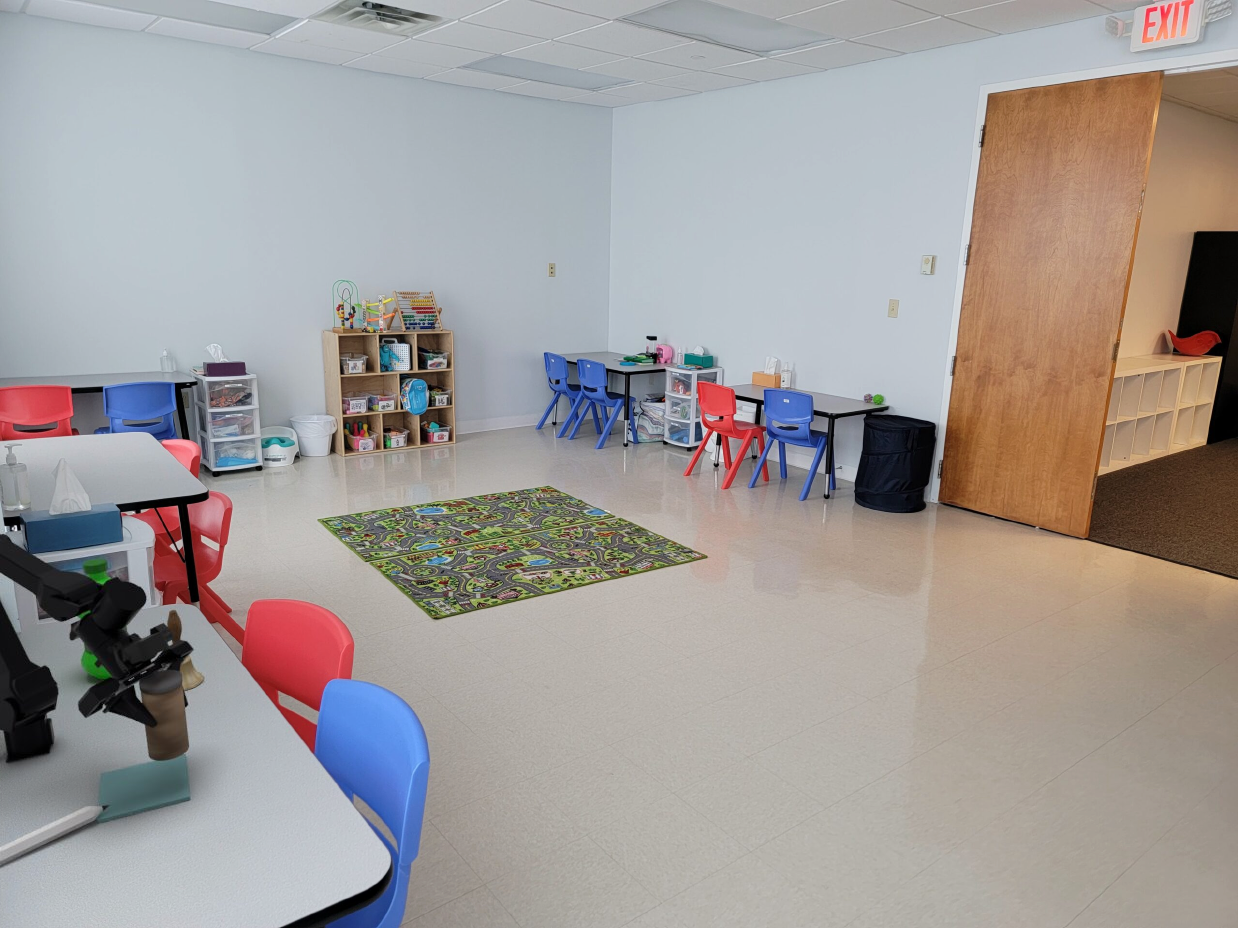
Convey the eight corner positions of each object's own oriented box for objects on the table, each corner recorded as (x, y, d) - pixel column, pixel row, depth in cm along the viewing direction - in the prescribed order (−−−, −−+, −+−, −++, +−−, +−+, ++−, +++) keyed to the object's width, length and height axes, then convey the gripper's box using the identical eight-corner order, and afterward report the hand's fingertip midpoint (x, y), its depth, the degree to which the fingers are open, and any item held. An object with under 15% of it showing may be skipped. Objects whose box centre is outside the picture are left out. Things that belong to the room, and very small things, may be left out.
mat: (98, 823, 135) (97, 819, 135) (101, 776, 147) (100, 773, 147) (190, 799, 141) (189, 796, 141) (186, 756, 153) (185, 753, 153)
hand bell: (150, 687, 177) (140, 615, 173) (183, 670, 184) (175, 600, 181) (180, 695, 174) (171, 622, 170) (213, 677, 181) (205, 607, 178)
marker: (113, 813, 138) (-5, 869, 126) (108, 803, 139) (-10, 857, 127) (114, 804, 136) (-5, 860, 125) (108, 794, 137) (-11, 848, 125)
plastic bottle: (71, 680, 180) (53, 567, 174) (116, 658, 189) (101, 550, 183) (104, 689, 176) (87, 574, 170) (149, 667, 185) (135, 557, 179)
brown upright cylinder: (141, 761, 140) (132, 688, 137) (157, 740, 146) (148, 670, 143) (181, 760, 140) (173, 687, 137) (195, 739, 146) (187, 669, 143)
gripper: (81, 640, 130) (147, 719, 129) (179, 595, 147) (237, 664, 146) (50, 679, 134) (113, 755, 134) (148, 630, 151) (205, 698, 151)
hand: (171, 716), depth 141 cm, fingers closed on brown upright cylinder, 6 cm apart
